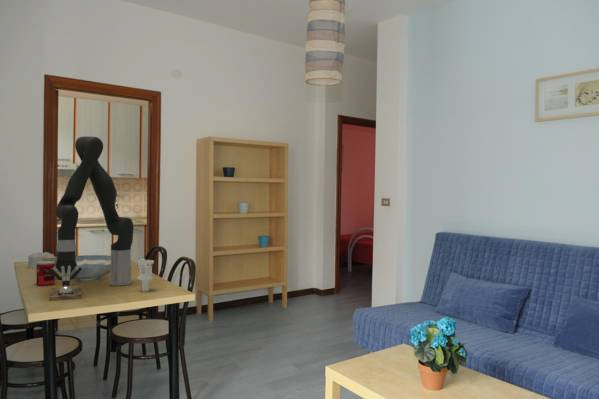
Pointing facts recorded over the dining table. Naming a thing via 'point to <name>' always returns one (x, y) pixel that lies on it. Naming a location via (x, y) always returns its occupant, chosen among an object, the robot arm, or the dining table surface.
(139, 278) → the white tall piece
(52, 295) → the wooden cutting board
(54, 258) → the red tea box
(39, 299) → the dining table surface
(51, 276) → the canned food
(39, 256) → the lumpy-topped squat cylinder
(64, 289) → the ball
